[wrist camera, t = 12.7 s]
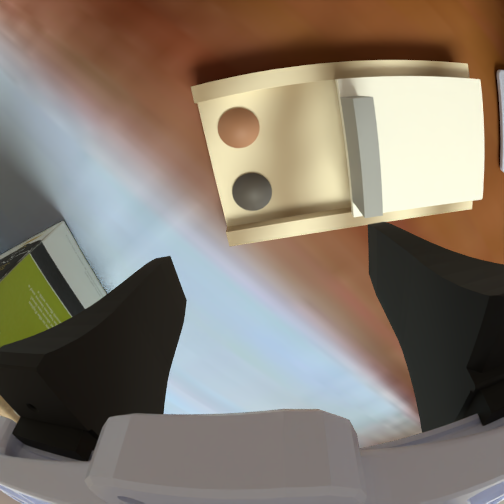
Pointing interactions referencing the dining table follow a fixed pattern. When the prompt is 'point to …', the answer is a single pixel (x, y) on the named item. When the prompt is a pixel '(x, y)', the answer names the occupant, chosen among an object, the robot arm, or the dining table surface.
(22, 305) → the tea box
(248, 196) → the plate
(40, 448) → the robot arm
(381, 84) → the lid
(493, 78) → the dining table surface
